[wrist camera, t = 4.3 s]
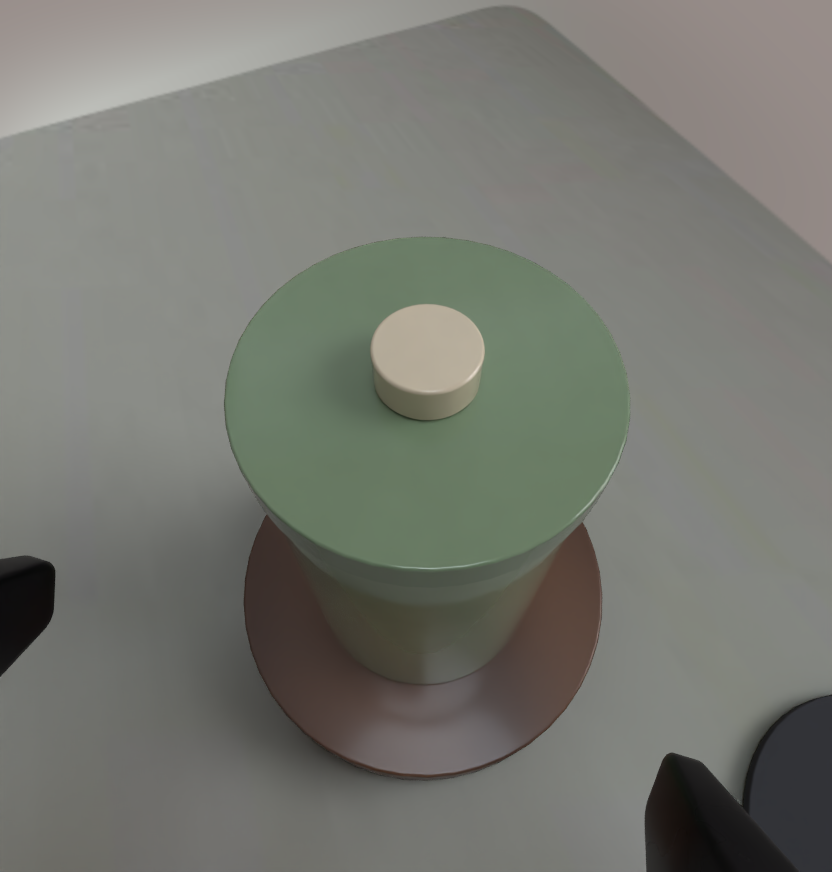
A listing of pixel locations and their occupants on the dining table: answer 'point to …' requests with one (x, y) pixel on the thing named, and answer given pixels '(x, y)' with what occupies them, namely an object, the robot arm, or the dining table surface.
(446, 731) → the platform
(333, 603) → the canister
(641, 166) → the dining table surface
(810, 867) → the coaster
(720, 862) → the robot arm
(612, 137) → the dining table surface
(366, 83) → the dining table surface
